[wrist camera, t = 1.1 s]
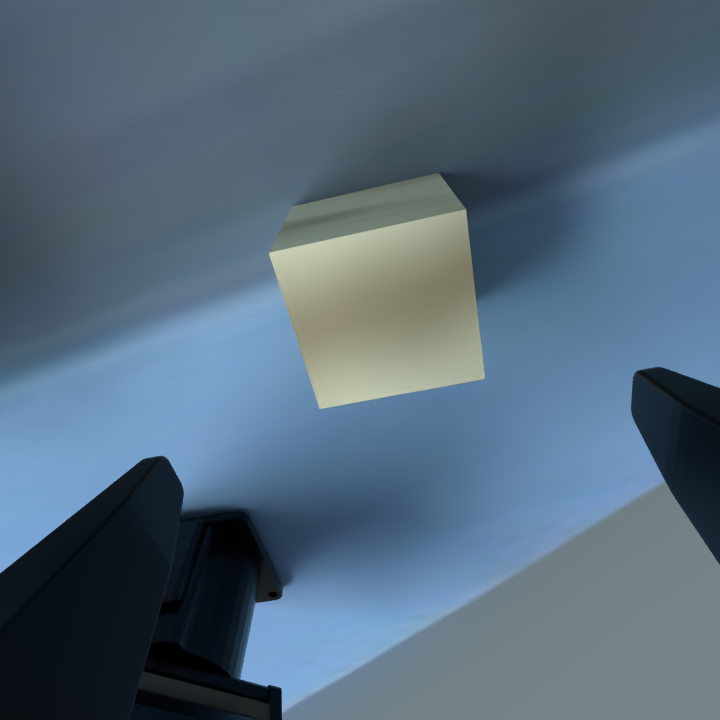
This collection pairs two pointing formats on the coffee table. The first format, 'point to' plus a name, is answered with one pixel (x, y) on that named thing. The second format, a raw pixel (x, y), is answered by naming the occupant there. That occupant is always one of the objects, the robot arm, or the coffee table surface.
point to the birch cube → (381, 291)
